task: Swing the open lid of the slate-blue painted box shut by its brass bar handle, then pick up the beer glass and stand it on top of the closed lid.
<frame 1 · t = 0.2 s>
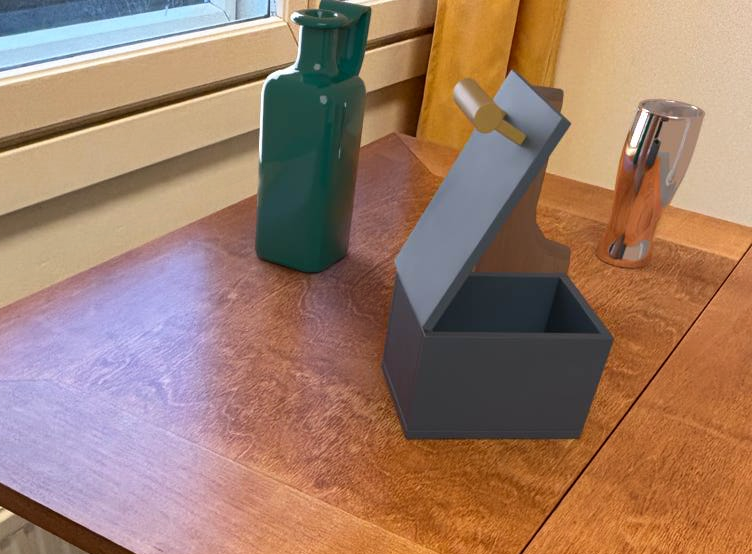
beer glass: (621, 259, 101), on the table
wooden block: (514, 292, 93), on the table
chest: (476, 401, 76), on the table
lid: (448, 188, 64), point 17 cm above the table, hinge at 65.0°
green bottle: (304, 254, 97), on the table
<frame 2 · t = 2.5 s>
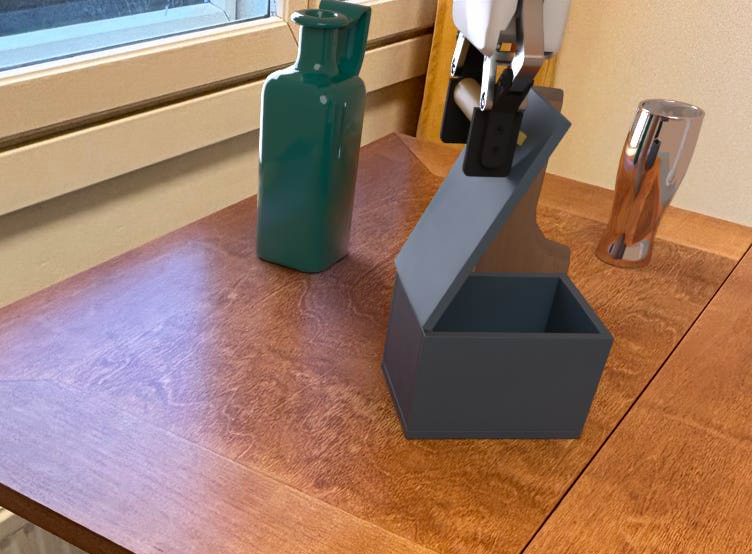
hand: (472, 155, 62), 19 cm above the table, tool pointing down, fingers closed on lid, 6 cm apart
lid: (449, 189, 64), point 17 cm above the table, hinge at 64.8°, touching gripper
everything else where it was.
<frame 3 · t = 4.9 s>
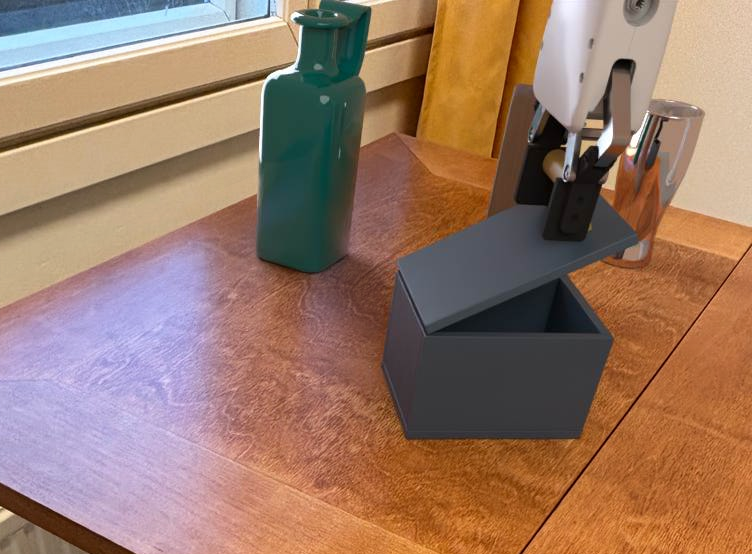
hand: (547, 218, 66), 15 cm above the table, tool pointing down, fingers closed on lid, 6 cm apart
lid: (501, 227, 66), point 14 cm above the table, hinge at 26.5°, touching gripper
everything else where it was.
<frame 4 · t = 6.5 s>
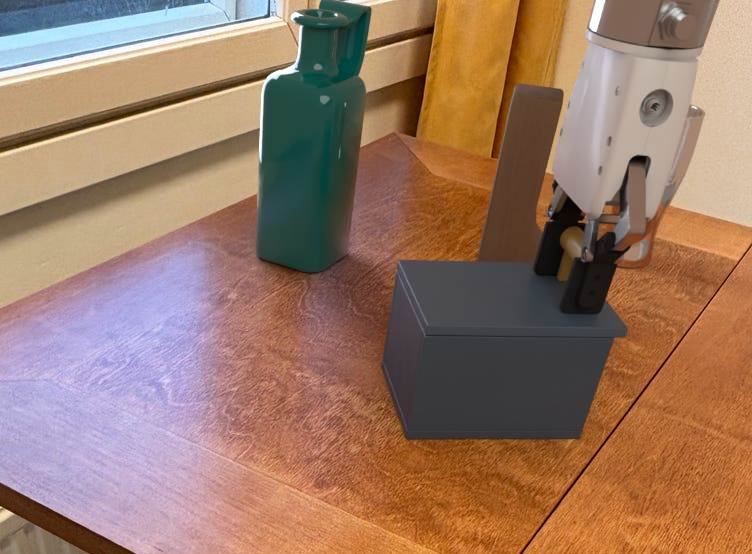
hand: (565, 290, 70), 10 cm above the table, tool pointing down, fingers closed on lid, 6 cm apart
lid: (513, 271, 68), point 11 cm above the table, hinge at -0.1°, touching gripper
everything else where it was.
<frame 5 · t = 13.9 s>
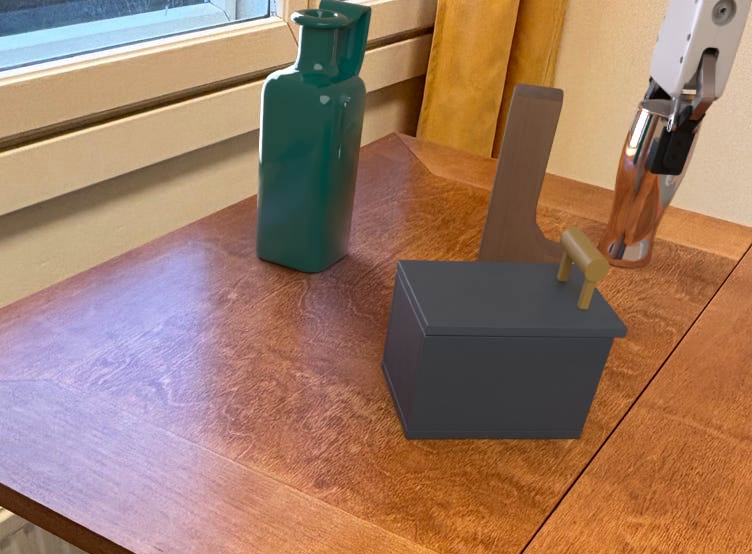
hand: (654, 159, 93), 10 cm above the table, tool pointing down, fingers closed on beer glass, 7 cm apart
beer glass: (621, 259, 101), on the table, touching gripper
lid: (513, 271, 68), point 11 cm above the table, hinge at -0.2°, touching chest
everything else where it was.
when the fingers open (20 cm above the table, at t = 23.9 s): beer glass stays where it is, resting on lid.
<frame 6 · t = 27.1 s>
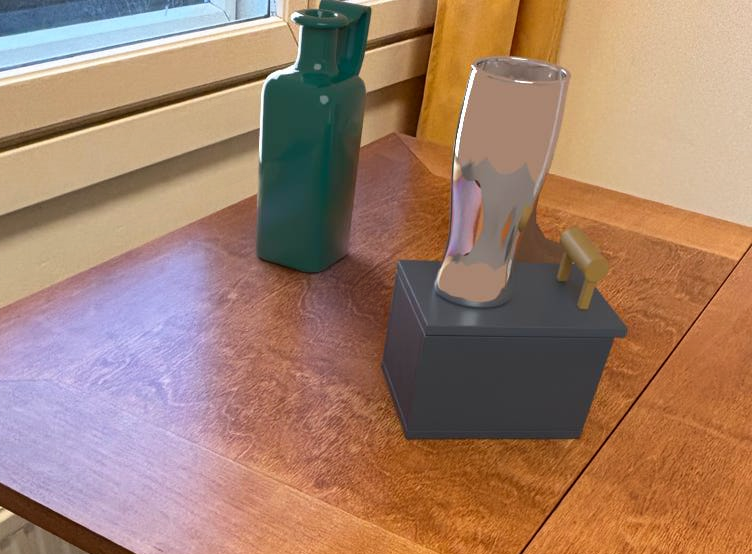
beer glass: (471, 293, 69), point 9 cm above the table, touching lid
lid: (513, 271, 68), point 11 cm above the table, hinge at -0.2°, touching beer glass, chest
everything else where it was.
at the end: lid at +0° (first picture: +65°); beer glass inside the target area on the chest (2.0 cm from its centre), point 9.5 cm above the chest's base; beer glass tilted 0° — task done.
